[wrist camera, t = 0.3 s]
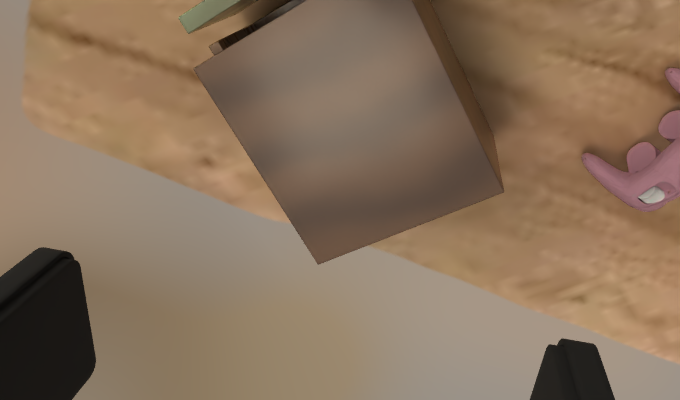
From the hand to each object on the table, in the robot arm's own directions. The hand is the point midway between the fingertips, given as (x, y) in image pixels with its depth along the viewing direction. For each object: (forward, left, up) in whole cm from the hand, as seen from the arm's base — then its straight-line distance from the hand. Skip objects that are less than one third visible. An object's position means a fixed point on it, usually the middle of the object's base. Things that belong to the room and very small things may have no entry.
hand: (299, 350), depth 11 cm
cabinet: (+2, -5, -36) cm, 37 cm away
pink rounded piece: (+15, +13, -37) cm, 42 cm away
